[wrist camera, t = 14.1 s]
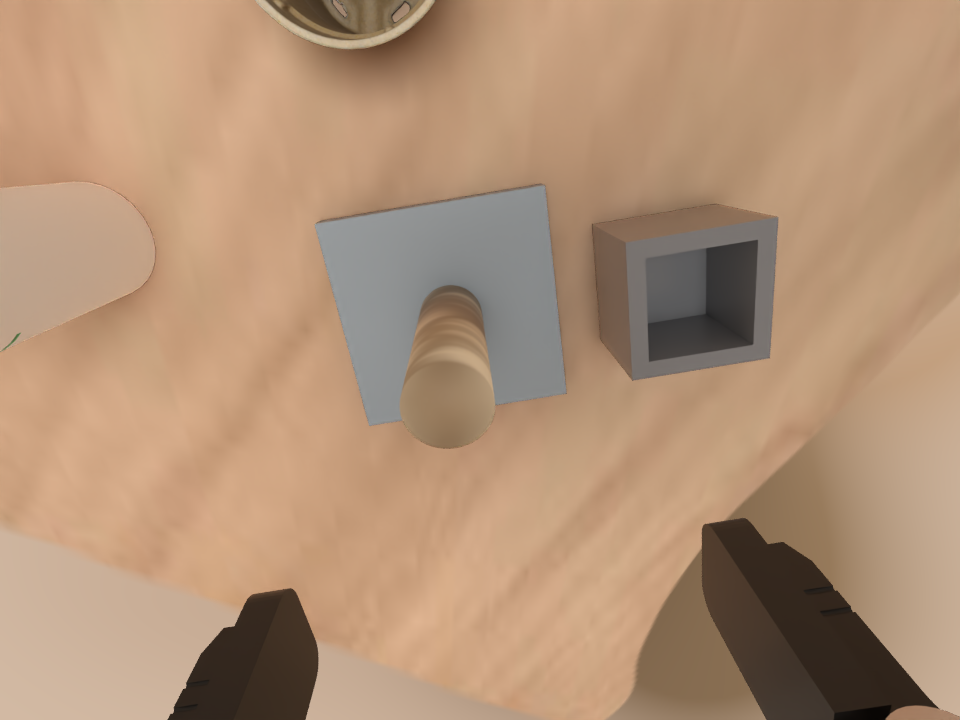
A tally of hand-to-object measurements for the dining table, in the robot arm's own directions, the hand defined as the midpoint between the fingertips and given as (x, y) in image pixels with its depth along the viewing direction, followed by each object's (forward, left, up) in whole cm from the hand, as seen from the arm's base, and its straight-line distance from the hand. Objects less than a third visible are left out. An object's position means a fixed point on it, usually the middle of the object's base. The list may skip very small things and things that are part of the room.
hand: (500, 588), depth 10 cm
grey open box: (-13, +2, -26) cm, 29 cm away
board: (+1, +2, -26) cm, 26 cm away
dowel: (+1, +2, -25) cm, 25 cm away
